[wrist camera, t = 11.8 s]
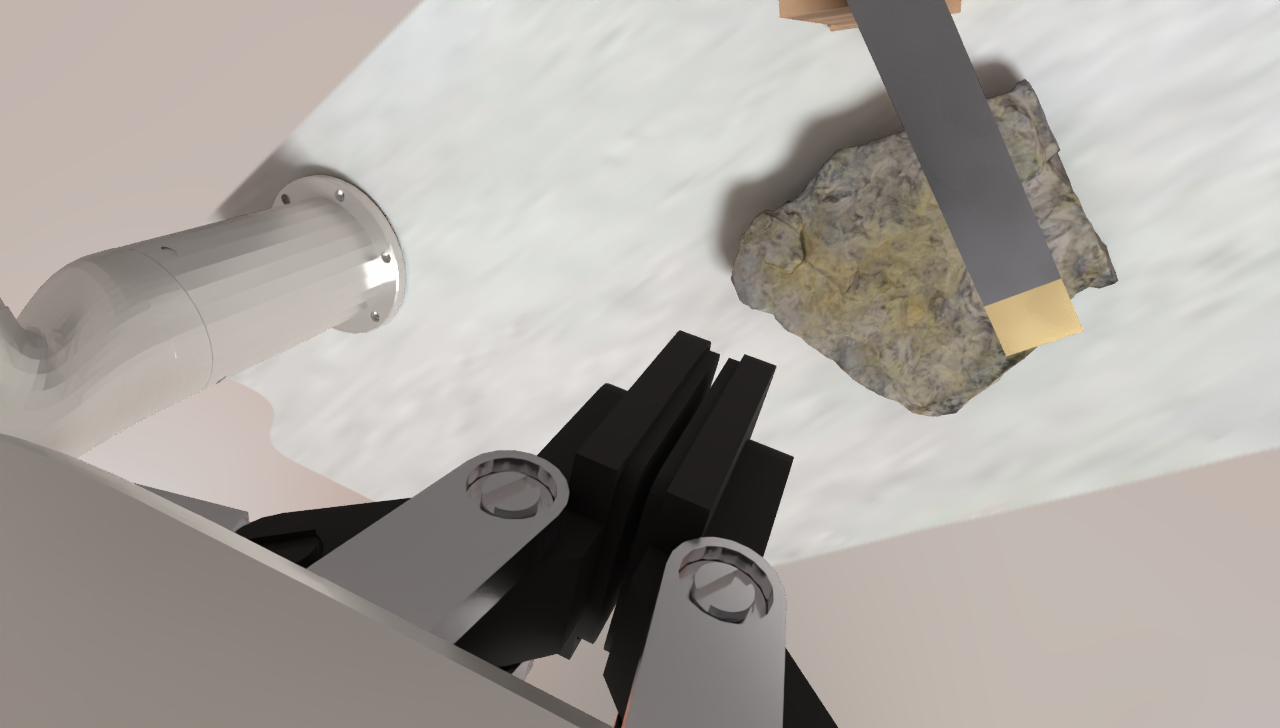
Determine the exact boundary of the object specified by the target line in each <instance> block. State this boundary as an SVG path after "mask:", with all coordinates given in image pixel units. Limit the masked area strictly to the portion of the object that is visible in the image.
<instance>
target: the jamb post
mask: <svg viewBox="0 0 1280 728" xmlns="http://www.w3.org/2000/svg"><path fill="white" fill-rule="evenodd" d="M945 2H946V4H947V7H948V9H949V11H950V14H953V13H960V12H961V0H945ZM779 8H780V18H787V19H794V20H801V21H808V22H815V23H821V24H828V25H830V31H836V30H843V29H850V28H857V27H858V25H857V23H856V21H855V18H854V16H853V14H852V12H851V9H850V7H849V5H848V3H847V1H846V0H779Z"/></svg>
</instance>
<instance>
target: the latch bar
mask: <svg viewBox="0 0 1280 728" xmlns="http://www.w3.org/2000/svg"><path fill="white" fill-rule="evenodd" d="M846 1H847V3H848V5H849V7H850V9H851V12H852V14H853V16H854V18H855V21H856V23H857V25H858V27H859V29H860V32H861V34H862V36H863V38H864V41H865V43H866V45H867V47H868V50H869V52H870V54H871V56H872V58H873V61H874V63H875V65H876V67H877V70H878V72H879V74H880V76H881V78H882V81H883V83H884V85H885V87H886V90H887V92H888V94H889V96H890V98H891V101H892V103H893V105H894V107H895V110H896V112H897V114H898V116H899V119H900V121H901V123H902V125H903V127H904V130H905V132H906V134H907V136H908V139H909V141H910V143H911V145H912V147H913V150H914V152H915V154H916V156H917V159H918V161H919V163H920V165H921V168H922V170H923V172H924V174H925V176H926V179H927V181H928V183H929V185H930V188H931V190H932V192H933V194H934V196H935V199H936V201H937V203H938V205H939V208H940V210H941V212H942V214H943V216H944V219H945V221H946V223H947V225H948V228H949V230H950V232H951V234H952V237H953V239H954V241H955V243H956V245H957V248H958V250H959V252H960V254H961V257H962V259H963V261H964V263H965V265H966V268H967V270H968V272H969V274H970V277H971V279H972V281H973V283H974V286H975V288H976V290H977V292H978V294H979V297H980V299H981V301H982V303H983V306H984V308H985V310H986V312H987V314H988V317H989V319H990V321H991V323H992V326H993V328H994V330H995V332H996V334H997V337H998V339H999V341H1000V343H1001V346H1002V348H1003V350H1004V352H1005V355H1006V356H1009V355H1012V354H1015V353H1018V352H1021V351H1024V350H1027V349H1031V348H1034V347H1037V346H1040V345H1043V344H1046V343H1049V342H1052V341H1055V340H1058V339H1061V338H1064V337H1068V336H1071V335H1074V334H1077V333H1080V332H1083V329H1082V326H1081V324H1080V322H1079V319H1078V317H1077V314H1076V312H1075V310H1074V307H1073V305H1072V302H1071V300H1070V298H1069V295H1068V293H1067V291H1066V288H1065V286H1064V283H1063V281H1062V279H1061V276H1060V274H1059V271H1058V269H1057V267H1056V264H1055V262H1054V260H1053V257H1052V255H1051V252H1050V250H1049V248H1048V245H1047V243H1046V240H1045V238H1044V236H1043V233H1042V231H1041V229H1040V226H1039V224H1038V221H1037V219H1036V217H1035V214H1034V212H1033V209H1032V207H1031V205H1030V202H1029V200H1028V198H1027V195H1026V193H1025V190H1024V188H1023V186H1022V183H1021V181H1020V178H1019V176H1018V174H1017V171H1016V169H1015V166H1014V164H1013V162H1012V159H1011V157H1010V155H1009V152H1008V150H1007V147H1006V145H1005V143H1004V140H1003V138H1002V135H1001V133H1000V131H999V128H998V126H997V124H996V121H995V119H994V116H993V114H992V112H991V109H990V107H989V104H988V102H987V100H986V97H985V95H984V93H983V90H982V88H981V85H980V83H979V81H978V78H977V76H976V73H975V71H974V69H973V66H972V64H971V62H970V59H969V57H968V54H967V52H966V50H965V47H964V45H963V42H962V40H961V38H960V35H959V33H958V30H957V28H956V26H955V23H954V21H953V19H952V16H951V14H950V11H949V9H948V7H947V4H946V2H945V0H846Z"/></svg>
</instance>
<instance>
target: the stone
mask: <svg viewBox="0 0 1280 728" xmlns="http://www.w3.org/2000/svg"><path fill="white" fill-rule="evenodd" d="M986 100H987V102H988V104H989V107H990V109H991V112H992V114H993V116H994V119H995V121H996V124H997V126H998V128H999V131H1000V133H1001V135H1002V138H1003V140H1004V143H1005V145H1006V147H1007V150H1008V152H1009V155H1010V157H1011V159H1012V162H1013V164H1014V166H1015V169H1016V171H1017V174H1018V176H1019V178H1020V181H1021V183H1022V186H1023V188H1024V190H1025V193H1026V195H1027V198H1028V200H1029V202H1030V205H1031V207H1032V209H1033V212H1034V214H1035V217H1036V219H1037V221H1038V224H1039V226H1040V229H1041V231H1042V233H1043V236H1044V238H1045V240H1046V243H1047V245H1048V248H1049V250H1050V252H1051V255H1052V257H1053V260H1054V262H1055V264H1056V267H1057V269H1058V271H1059V274H1060V276H1061V279H1062V281H1063V283H1064V286H1065V288H1066V291H1067V293H1068V295H1069V298H1070V300H1071V299H1072V298H1073V297H1074V296H1075V294H1077V293H1079V292H1081V291H1083V290H1084V289H1086V288H1088V287H1095V288H1102V287H1105V286H1109V285H1112V284H1114V283H1116V282H1117V281H1118V279H1117V275H1116V272H1115V270H1114V267H1113V265H1112V263H1111V260H1110V257H1109V253H1108V250H1107V247H1106V245H1105V244H1104V243H1103V242H1102V241H1101V239H1100V238H1099V236H1098V234H1097V233H1095V232H1094V229H1093V226H1092V224H1091V223H1090V221H1089V220H1088V219H1087V217H1086V215H1085V213H1084V211H1083V209H1082V206H1081V204H1080V201H1079V199H1078V197H1077V195H1076V194H1075V193H1074V192H1073V189H1072V186H1071V183H1070V181H1069V178H1068V176H1067V174H1066V171H1065V169H1064V167H1063V164H1062V162H1061V160H1060V157H1059V155H1058V152H1059V151H1060V148H1059V146H1058V143H1057V141H1056V139H1055V137H1054V135H1053V134H1052V132H1051V130H1050V128H1049V126H1048V123H1047V120H1046V117H1045V114H1044V111H1043V109H1042V107H1041V105H1040V103H1039V100H1038V98H1037V95H1036V93H1035V91H1034V90H1033V88H1032V86H1031V85H1030V83H1029V82H1028V81H1027V80H1025V79H1024V80H1022V81H1020V82H1018V83H1017V84H1016V86H1015V88H1014V89H1013V90H1012V91H1011V92H1009V93H1007V94H1004V95H1000V96H995V97H992V98H989V99H986ZM739 244H740V247H739V250H738V253H737V256H736V259H735V263H734V268H733V272H732V276H731V281H732V283H733V285H734V287H735V289H736V292H737V295H738V297H739V300H740V301H741V302H742V303H743V304H745V305H748V306H749V307H750V308H751V309H757V310H760V311H763V312H767V313H771V314H773V315H774V316H775V319H776V320H777V321H778V322H779V323H780V324H781V325H782V326H783V327H784V328H785V329H786V330H787V331H788V332H791V333H793V334H795V335H797V336H799V337H801V338H802V339H803V340H804V341H805V342H806V343H807V344H808V345H810V346H812V347H813V348H815V349H816V350H818V351H819V352H820V353H821V354H823V355H824V356H826V357H827V358H829V359H832V360H834V361H835V362H836V363H837V364H838V365H839V367H840V368H841V369H842V370H844V371H845V372H846V373H847V374H848V375H849V376H850V377H851V378H852V379H853V380H855V381H856V382H858V383H860V384H861V385H863V386H865V387H866V388H867V389H869V390H871V391H873V392H875V393H877V394H878V395H881V396H883V397H885V398H888V399H892V400H895V401H897V402H899V403H901V404H902V405H903V406H904V407H905V408H907V409H908V410H910V411H911V412H912V413H916V414H920V415H925V416H941V415H946V414H954V413H957V412H958V410H960V409H961V408H962V407H963V406H964V405H965V404H966V403H967V402H968V401H969V400H970V399H971V398H973V397H974V396H976V395H977V394H979V393H981V392H982V391H983V390H985V389H986V388H987V387H989V386H991V385H992V384H994V383H996V382H998V381H999V380H1000V378H1001V377H1002V375H1003V374H1004V373H1005V372H1006V371H1008V370H1009V369H1010V368H1012V367H1013V366H1014V365H1016V364H1017V363H1019V362H1020V361H1021V360H1023V359H1024V358H1025V357H1026V356H1027V355H1029V354H1030V353H1031V352H1032V351H1033V350H1034V349H1035V348H1037V347H1038V346H1037V347H1034V348H1031V349H1027V350H1024V351H1021V352H1018V353H1015V354H1012V355H1009V356H1006V355H1005V352H1004V350H1003V348H1002V346H1001V343H1000V341H999V339H998V337H997V334H996V332H995V330H994V328H993V326H992V323H991V321H990V319H989V317H988V314H987V312H986V310H985V308H984V306H983V303H982V301H981V299H980V297H979V294H978V292H977V290H976V288H975V286H974V283H973V281H972V279H971V277H970V274H969V272H968V270H967V268H966V265H965V263H964V261H963V259H962V257H961V254H960V252H959V250H958V248H957V245H956V243H955V241H954V239H953V237H952V234H951V232H950V230H949V228H948V225H947V223H946V221H945V219H944V216H943V214H942V212H941V210H940V208H939V205H938V203H937V201H936V199H935V196H934V194H933V192H932V190H931V188H930V185H929V183H928V181H927V179H926V176H925V174H924V172H923V170H922V168H921V165H920V163H919V161H918V159H917V156H916V154H915V152H914V150H913V147H912V145H911V143H910V141H909V139H908V136H907V134H906V132H905V130H901V131H899V132H896V133H893V134H891V135H888V136H886V137H884V138H881V139H878V140H875V141H872V142H869V143H867V144H864V145H861V146H853V147H847V148H844V149H840V150H837V151H836V152H835V153H834V154H833V155H832V156H831V157H830V158H829V159H828V160H827V161H826V163H825V164H824V165H823V166H822V167H821V168H820V170H819V171H818V172H817V174H816V175H815V176H814V177H813V179H812V180H811V181H810V183H809V184H808V185H807V187H806V188H805V189H804V191H803V192H802V193H801V194H800V195H799V196H798V197H797V198H796V199H794V200H793V201H787V202H786V203H784V204H783V205H782V206H780V207H779V208H778V209H777V210H776V211H771V210H765V211H763V212H761V213H760V214H759V215H758V216H757V217H756V218H755V219H754V221H753V222H752V224H751V225H750V227H749V229H748V230H747V232H746V233H745V234H743V235H742V236H741V238H740V240H739Z"/></svg>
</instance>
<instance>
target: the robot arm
mask: <svg viewBox="0 0 1280 728" xmlns="http://www.w3.org/2000/svg"><path fill="white" fill-rule="evenodd" d="M405 281H406V279H405V265H404V261H403V256H402V252H401V248H400V246H399V243H398V241H397V238H396V235H395V233H394V232H393V230H392V228H391V226H390V224H389V222H388V221H387V219H386V218H385V216H384V215H383V214H382V212H381V211H380V210H379V208H378V207H377V206H376V205H375V204H374V203H373V202H372V201H371V200H370V199H369V198H368V197H367V196H366V195H365V194H364V193H363V192H361V191H360V190H359V189H357V188H356V187H355V186H353V185H351V184H349V183H347V182H345V181H343V180H341V179H339V178H335V177H331V176H328V175H312V176H307V177H302V178H299V179H296V180H294V181H291V182H290V183H288V184H287V185H286V186H285V187H283V188H282V189H281V191H280V192H279V193H278V195H277V196H276V198H275V200H274V203H273V205H272V208H270V209H266V210H262V211H259V212H255V213H251V214H247V215H243V216H239V217H235V218H231V219H227V220H223V221H219V222H216V223H212V224H208V225H204V226H200V227H196V228H193V229H188V230H184V231H181V232H177V233H173V234H169V235H165V236H161V237H157V238H153V239H150V240H145V241H141V242H138V243H133V244H130V245H126V246H122V247H118V248H112V249H108V250H104V251H101V252H97V253H94V254H91V255H87V256H84V257H81V258H79V259H77V260H75V261H73V262H71V263H69V264H67V265H66V266H64V267H63V268H61V269H60V270H59V271H57V272H56V273H55V274H53V275H52V276H51V277H50V278H49V279H48V280H47V281H46V282H45V283H44V284H43V285H42V286H41V287H40V288H39V289H38V291H37V292H36V293H35V294H34V296H33V297H32V298H31V299H30V301H29V302H28V304H27V305H26V306H25V308H24V309H23V311H22V312H21V314H20V315H19V317H18V318H17V319H16V318H15V317H14V315H13V314H12V312H11V311H10V309H9V307H5V305H4V303H3V301H2V300H1V298H0V728H838V727H837V725H836V724H835V722H834V721H833V719H832V718H831V716H830V715H829V713H828V711H827V710H826V708H825V707H824V705H823V704H822V702H821V701H820V699H819V698H818V696H817V695H816V693H815V692H814V690H813V689H812V687H811V685H810V684H809V682H808V681H807V679H806V678H805V677H804V675H803V674H802V672H801V670H800V669H799V667H798V666H797V664H796V663H795V661H794V660H793V658H792V657H791V655H790V654H789V652H788V651H787V649H786V647H785V640H786V612H787V600H786V594H785V589H784V586H783V584H782V582H781V580H780V578H779V576H778V574H777V572H776V571H775V570H774V569H773V568H772V567H771V565H770V564H769V563H768V562H767V561H766V560H765V559H764V558H763V556H764V553H765V549H766V546H767V543H768V540H769V536H770V533H771V530H772V527H773V524H774V520H775V517H776V514H777V511H778V507H779V504H780V501H781V498H782V495H783V491H784V488H785V485H786V482H787V478H788V475H789V472H790V469H791V466H792V462H793V459H794V457H793V456H790V455H788V454H785V453H783V452H780V451H778V450H775V449H773V448H770V447H768V446H765V445H763V444H760V443H758V442H755V441H753V440H750V438H751V435H752V432H753V430H754V427H755V424H756V421H757V419H758V416H759V413H760V411H761V408H762V405H763V402H764V400H765V397H766V394H767V391H768V389H769V386H770V383H771V381H772V378H773V375H774V372H775V369H776V366H775V365H773V364H770V363H767V362H765V361H762V360H759V359H756V358H754V357H751V356H748V355H746V354H745V355H744V356H743V358H742V359H741V361H740V362H739V361H737V360H734V359H731V358H729V359H728V360H727V362H726V364H725V365H724V367H723V368H722V370H721V372H720V373H719V375H718V377H717V378H716V380H715V381H714V383H713V385H712V386H711V384H712V381H713V378H714V374H715V371H716V368H717V365H718V361H719V357H720V354H718V353H715V352H712V351H710V347H711V342H710V341H708V340H705V339H702V338H699V337H697V336H694V335H691V334H689V333H686V332H683V331H678V332H677V333H676V335H675V336H674V337H673V338H672V339H671V341H670V342H669V343H668V344H667V345H666V346H665V348H664V349H663V350H662V351H661V352H660V354H659V355H658V356H657V357H656V358H655V359H654V361H653V362H652V363H651V364H650V365H649V367H648V368H647V369H646V370H645V371H644V373H643V374H642V375H641V376H640V377H639V378H638V380H637V381H636V382H635V383H634V384H633V386H632V387H631V388H630V389H629V390H628V391H626V390H624V389H621V388H619V387H616V386H614V385H611V384H609V383H605V384H604V385H603V386H602V387H600V388H599V390H598V391H597V392H596V393H595V394H594V395H593V396H592V397H591V398H590V399H589V400H588V401H587V402H586V403H585V405H584V406H583V407H582V408H581V409H580V410H579V411H578V412H577V413H576V414H575V415H574V416H573V417H572V419H571V420H570V421H569V422H568V423H567V424H566V425H565V426H564V427H563V428H562V429H561V430H560V431H559V432H558V434H557V435H556V436H555V437H554V438H553V439H552V440H551V441H550V442H549V443H548V444H547V445H546V446H545V447H544V449H543V450H542V451H541V452H540V453H539V454H538V455H537V456H536V455H533V454H530V453H525V452H520V451H515V450H498V451H493V452H488V453H483V454H480V455H478V456H476V457H474V458H472V459H470V460H468V461H466V462H465V463H463V464H462V465H460V466H459V467H457V468H456V469H454V470H453V471H451V472H450V473H448V474H447V475H445V476H444V477H442V478H441V479H439V480H438V481H436V482H435V483H433V484H432V485H430V486H429V487H427V488H426V489H424V490H423V491H421V492H420V493H419V494H417V495H416V496H414V497H413V498H406V499H397V500H389V501H380V502H372V503H364V504H355V505H347V506H339V507H330V508H322V509H314V510H305V511H297V512H289V513H281V514H277V515H273V516H268V517H263V518H260V519H258V520H256V521H253V522H249V516H248V512H246V511H242V510H238V509H234V508H230V507H226V506H222V505H219V504H214V503H211V502H207V501H203V500H199V499H195V498H190V497H187V496H183V495H179V494H175V493H171V492H167V491H163V490H159V489H155V488H151V487H147V486H143V485H139V484H136V483H132V482H130V481H128V480H125V479H124V478H121V477H119V476H117V475H114V474H112V473H110V472H107V471H105V470H103V469H100V468H98V467H96V466H93V465H91V464H88V463H86V462H84V461H82V460H79V459H77V458H78V457H80V456H82V455H83V454H84V453H86V452H88V451H89V450H91V449H93V448H94V447H96V446H97V445H99V444H100V443H102V442H104V441H105V440H107V439H109V438H110V437H112V436H114V435H116V434H118V433H119V432H121V431H123V430H125V429H127V428H128V427H130V426H132V425H134V424H136V423H137V422H139V421H141V420H143V419H145V418H147V417H149V416H151V415H153V414H155V413H157V412H159V411H161V410H163V409H165V408H167V407H169V406H171V405H173V404H175V403H177V402H179V401H181V400H184V399H185V398H188V397H190V396H192V395H194V394H196V393H198V392H199V391H202V390H204V389H206V388H208V387H210V386H212V385H215V384H217V383H219V382H221V381H223V380H225V379H227V378H229V377H231V376H233V375H235V374H237V373H239V372H242V371H244V370H246V369H248V368H250V367H252V366H254V365H256V364H258V363H260V362H262V361H264V360H266V359H268V358H270V357H273V356H275V355H277V354H279V353H281V352H283V351H285V350H287V349H289V348H291V347H293V346H295V345H297V344H299V343H301V342H304V341H306V340H308V339H310V338H312V337H314V336H316V335H318V334H320V333H322V332H324V331H326V330H328V329H330V328H333V329H336V330H339V331H342V332H346V333H353V334H357V333H366V332H369V331H372V330H374V329H377V328H378V327H380V326H382V325H384V324H385V323H387V322H388V321H389V320H390V319H391V318H392V317H393V316H394V315H395V314H396V312H397V310H398V309H399V307H400V305H401V302H402V299H403V296H404V290H405ZM710 387H711V388H710ZM615 605H616V607H615ZM614 607H615V610H614V614H613V617H612V620H611V624H610V628H609V631H608V634H607V638H606V641H605V645H604V650H606V651H608V652H610V654H609V657H608V660H607V664H606V667H605V670H604V674H603V676H604V678H605V681H606V683H607V686H608V688H609V691H610V693H611V696H612V698H613V700H614V703H615V705H616V708H617V710H618V713H617V716H616V719H615V722H614V725H613V727H612V726H610V725H608V724H606V723H604V722H602V721H600V720H598V719H596V718H594V717H592V716H590V715H588V714H586V713H585V712H583V711H581V710H579V709H577V708H575V707H573V706H571V705H569V704H567V703H565V702H563V701H562V700H560V699H558V698H556V697H554V696H552V695H550V694H548V693H546V692H544V691H542V690H540V689H538V688H536V687H534V686H532V685H531V684H529V683H527V682H525V681H524V680H525V679H526V677H527V675H528V674H529V672H530V671H531V669H532V667H533V662H534V659H537V658H541V657H546V656H550V655H554V654H559V655H561V656H563V657H565V658H567V659H570V658H571V657H572V655H573V653H574V651H575V650H576V648H577V646H578V644H579V642H580V641H581V639H584V640H586V641H588V642H590V643H592V644H593V643H594V642H595V641H596V639H597V638H598V636H599V634H600V632H601V630H602V629H603V627H604V625H605V623H606V621H607V620H608V618H609V616H610V614H611V612H612V610H613V609H614Z"/></svg>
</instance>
